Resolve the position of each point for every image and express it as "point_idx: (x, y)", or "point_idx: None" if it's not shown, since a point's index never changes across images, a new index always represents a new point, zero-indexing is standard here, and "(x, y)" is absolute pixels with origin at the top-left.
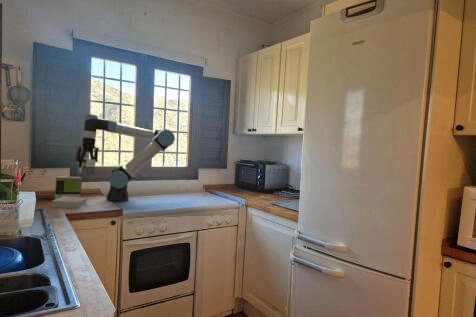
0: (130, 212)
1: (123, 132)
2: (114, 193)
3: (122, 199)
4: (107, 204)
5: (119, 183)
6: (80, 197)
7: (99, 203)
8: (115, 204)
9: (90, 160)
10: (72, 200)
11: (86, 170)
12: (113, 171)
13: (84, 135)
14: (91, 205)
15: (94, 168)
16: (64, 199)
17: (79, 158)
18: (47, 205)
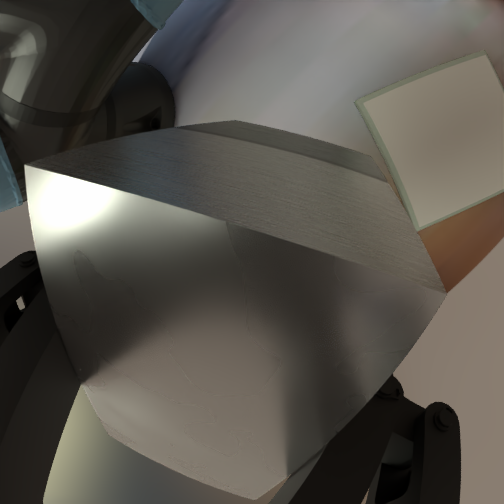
0: None
1: None
2: (137, 92)
3: (135, 62)
4: (261, 28)
5: None
6: None
7: (275, 73)
8: (226, 10)
9: (235, 195)
10: (479, 98)
11: (362, 160)
12: (14, 147)
13: None
14: (357, 56)
15: (193, 125)
16: (487, 150)
17: (436, 463)
18: (496, 212)
